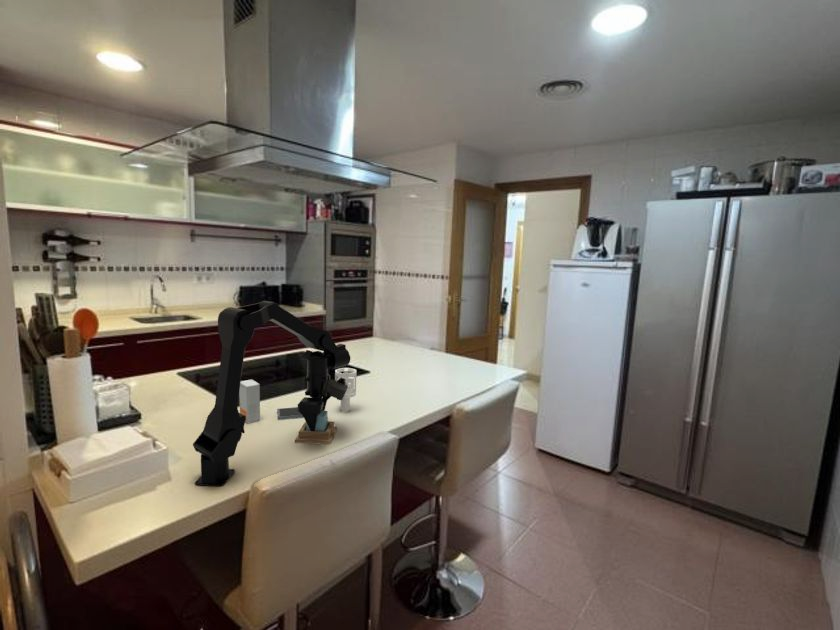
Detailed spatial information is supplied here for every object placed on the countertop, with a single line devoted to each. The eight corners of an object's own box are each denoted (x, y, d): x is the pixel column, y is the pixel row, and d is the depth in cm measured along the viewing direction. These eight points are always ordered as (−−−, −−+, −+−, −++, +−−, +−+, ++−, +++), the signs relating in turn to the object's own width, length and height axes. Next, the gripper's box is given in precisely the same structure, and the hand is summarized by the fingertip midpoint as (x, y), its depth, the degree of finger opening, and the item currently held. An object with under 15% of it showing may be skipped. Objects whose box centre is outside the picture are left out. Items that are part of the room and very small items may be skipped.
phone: (322, 415, 134) (322, 412, 134) (277, 419, 129) (277, 416, 129) (320, 408, 141) (320, 404, 140) (277, 411, 136) (277, 408, 136)
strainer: (334, 414, 136) (335, 370, 134) (334, 406, 143) (335, 364, 140) (356, 413, 137) (357, 370, 135) (355, 405, 144) (356, 364, 142)
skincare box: (239, 417, 130) (238, 381, 128) (252, 414, 132) (252, 378, 131) (247, 424, 125) (246, 386, 124) (260, 420, 128) (260, 383, 126)
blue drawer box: (323, 436, 117) (324, 416, 116) (306, 436, 117) (306, 415, 116) (327, 430, 122) (327, 410, 121) (310, 429, 122) (310, 409, 121)
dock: (330, 444, 115) (330, 434, 114) (294, 442, 115) (294, 433, 114) (337, 429, 125) (337, 420, 124) (304, 427, 125) (304, 418, 124)
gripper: (339, 383, 108) (338, 439, 110) (351, 365, 126) (350, 413, 128) (296, 382, 108) (296, 438, 110) (315, 363, 126) (314, 411, 128)
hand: (317, 424), depth 119 cm, fingers open, 9 cm apart
